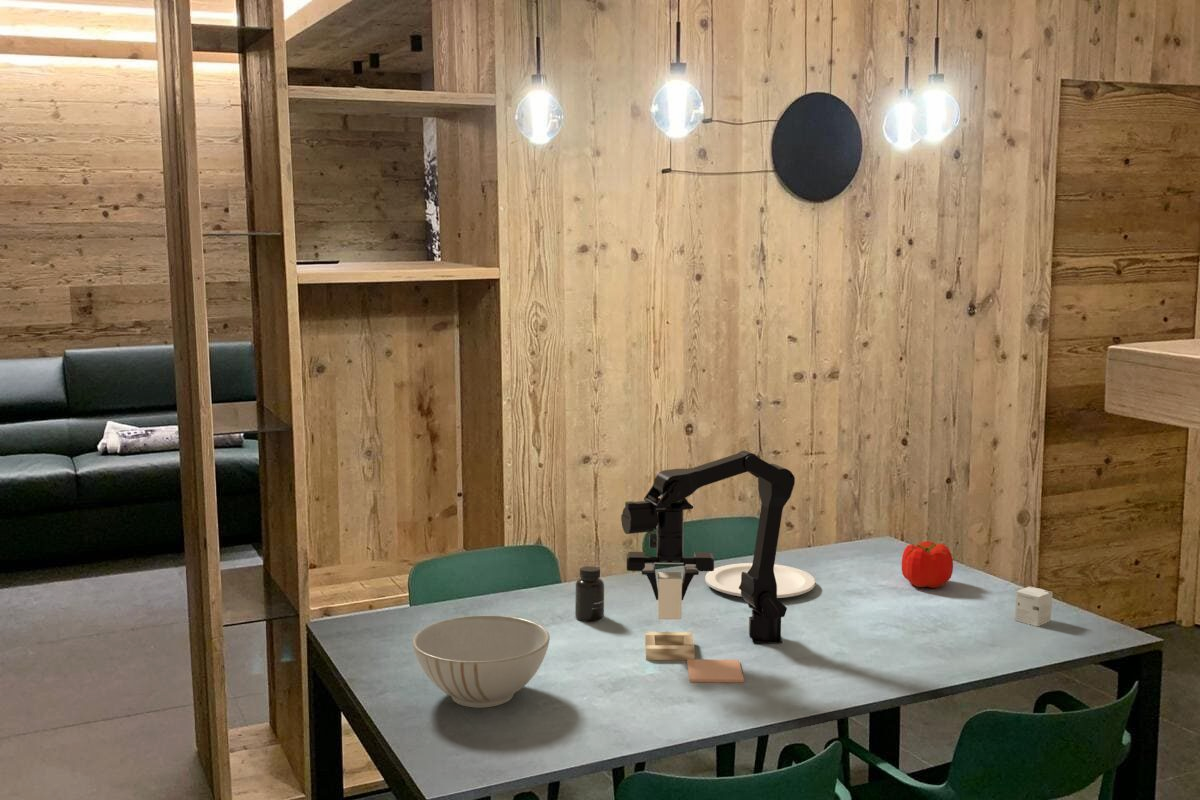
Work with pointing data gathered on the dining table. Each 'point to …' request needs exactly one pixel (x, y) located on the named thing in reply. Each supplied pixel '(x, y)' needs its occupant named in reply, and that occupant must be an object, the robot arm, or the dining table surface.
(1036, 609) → the skincare box
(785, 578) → the plate
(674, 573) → the cream block
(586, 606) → the supplement bottle
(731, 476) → the robot arm
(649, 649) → the birch pocket holder
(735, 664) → the terracotta coaster
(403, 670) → the dining table surface
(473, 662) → the decorative bowl
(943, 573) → the tomato
